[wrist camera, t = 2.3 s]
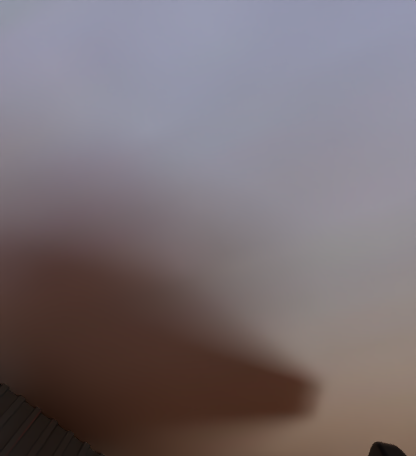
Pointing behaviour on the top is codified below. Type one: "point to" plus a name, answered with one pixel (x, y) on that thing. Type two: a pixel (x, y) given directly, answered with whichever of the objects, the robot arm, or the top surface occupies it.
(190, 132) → the top surface
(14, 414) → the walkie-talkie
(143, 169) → the top surface
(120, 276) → the top surface
